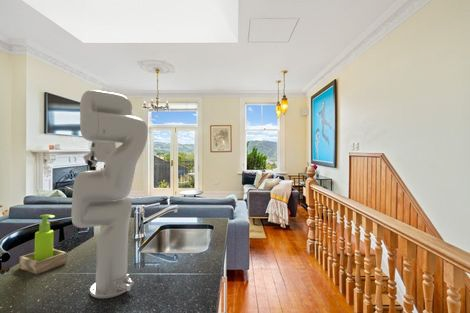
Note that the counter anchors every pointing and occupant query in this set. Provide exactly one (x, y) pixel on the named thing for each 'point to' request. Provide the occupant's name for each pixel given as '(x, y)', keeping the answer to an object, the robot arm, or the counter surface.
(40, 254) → the soap dispenser
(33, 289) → the counter surface
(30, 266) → the box
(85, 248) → the counter surface
